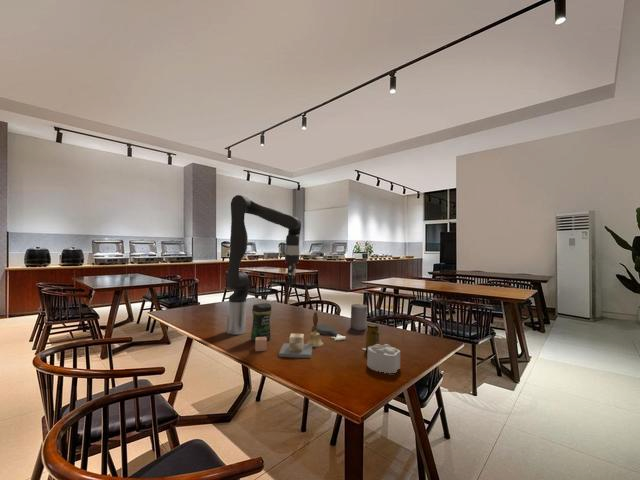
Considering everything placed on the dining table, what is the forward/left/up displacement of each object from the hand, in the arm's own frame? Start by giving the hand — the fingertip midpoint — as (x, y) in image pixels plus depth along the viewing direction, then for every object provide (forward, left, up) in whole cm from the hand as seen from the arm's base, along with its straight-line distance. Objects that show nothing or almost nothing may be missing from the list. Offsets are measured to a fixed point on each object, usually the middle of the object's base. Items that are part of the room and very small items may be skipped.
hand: (291, 284), depth 165 cm
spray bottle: (+21, +9, -29) cm, 37 cm away
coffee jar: (-14, -6, -28) cm, 32 cm away
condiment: (+42, -16, -28) cm, 53 cm away
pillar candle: (+39, +24, -28) cm, 54 cm away
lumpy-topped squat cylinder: (+43, -36, -28) cm, 63 cm away
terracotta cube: (-11, -20, -28) cm, 36 cm away
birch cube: (+6, -22, -27) cm, 35 cm away
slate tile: (+6, -22, -28) cm, 36 cm away
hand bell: (+14, -10, -28) cm, 33 cm away
